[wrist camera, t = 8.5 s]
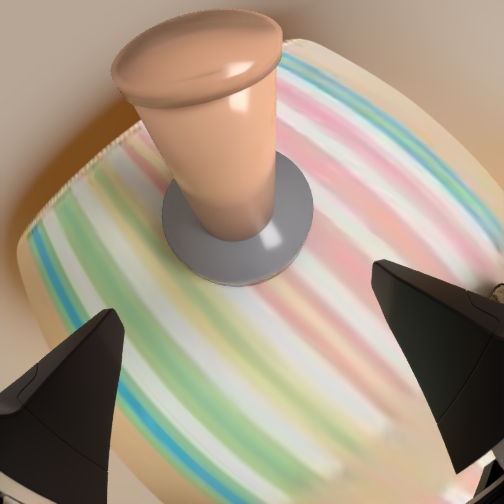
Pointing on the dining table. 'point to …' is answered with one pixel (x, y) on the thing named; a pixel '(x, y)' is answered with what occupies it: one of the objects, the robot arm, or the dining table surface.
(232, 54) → the tan cylindrical canister
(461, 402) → the robot arm
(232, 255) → the round gray base plate
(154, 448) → the dining table surface
